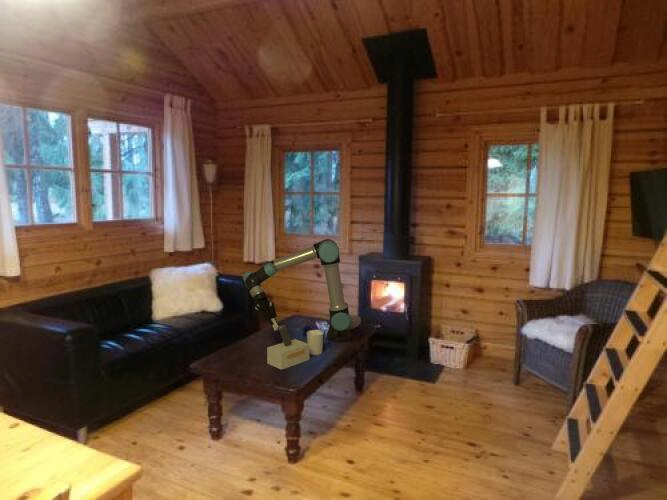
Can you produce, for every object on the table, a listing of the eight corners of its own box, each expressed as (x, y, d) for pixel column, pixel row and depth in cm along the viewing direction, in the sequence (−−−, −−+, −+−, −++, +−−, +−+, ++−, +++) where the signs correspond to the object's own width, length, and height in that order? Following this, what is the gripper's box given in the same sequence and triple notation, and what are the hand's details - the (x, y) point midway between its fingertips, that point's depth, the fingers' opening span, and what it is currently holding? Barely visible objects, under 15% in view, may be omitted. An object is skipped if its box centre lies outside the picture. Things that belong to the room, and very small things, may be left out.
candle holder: (317, 356, 261) (317, 336, 260) (303, 353, 266) (303, 333, 265) (326, 351, 270) (326, 331, 268) (312, 348, 275) (312, 328, 273)
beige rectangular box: (295, 354, 265) (295, 338, 264) (309, 359, 257) (309, 344, 255) (267, 363, 251) (267, 347, 250) (281, 369, 242) (281, 353, 241)
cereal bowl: (364, 326, 317) (365, 316, 316) (353, 333, 303) (353, 322, 302) (343, 322, 326) (343, 313, 325) (331, 329, 312) (331, 318, 311)
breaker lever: (290, 344, 255) (284, 325, 258) (293, 343, 254) (286, 323, 256) (283, 346, 252) (277, 327, 254) (286, 345, 250) (279, 325, 252)
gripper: (265, 296, 274) (283, 330, 265) (246, 300, 265) (264, 335, 256) (270, 289, 270) (288, 323, 261) (252, 293, 261) (270, 328, 252)
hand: (276, 329), depth 258 cm, fingers closed
